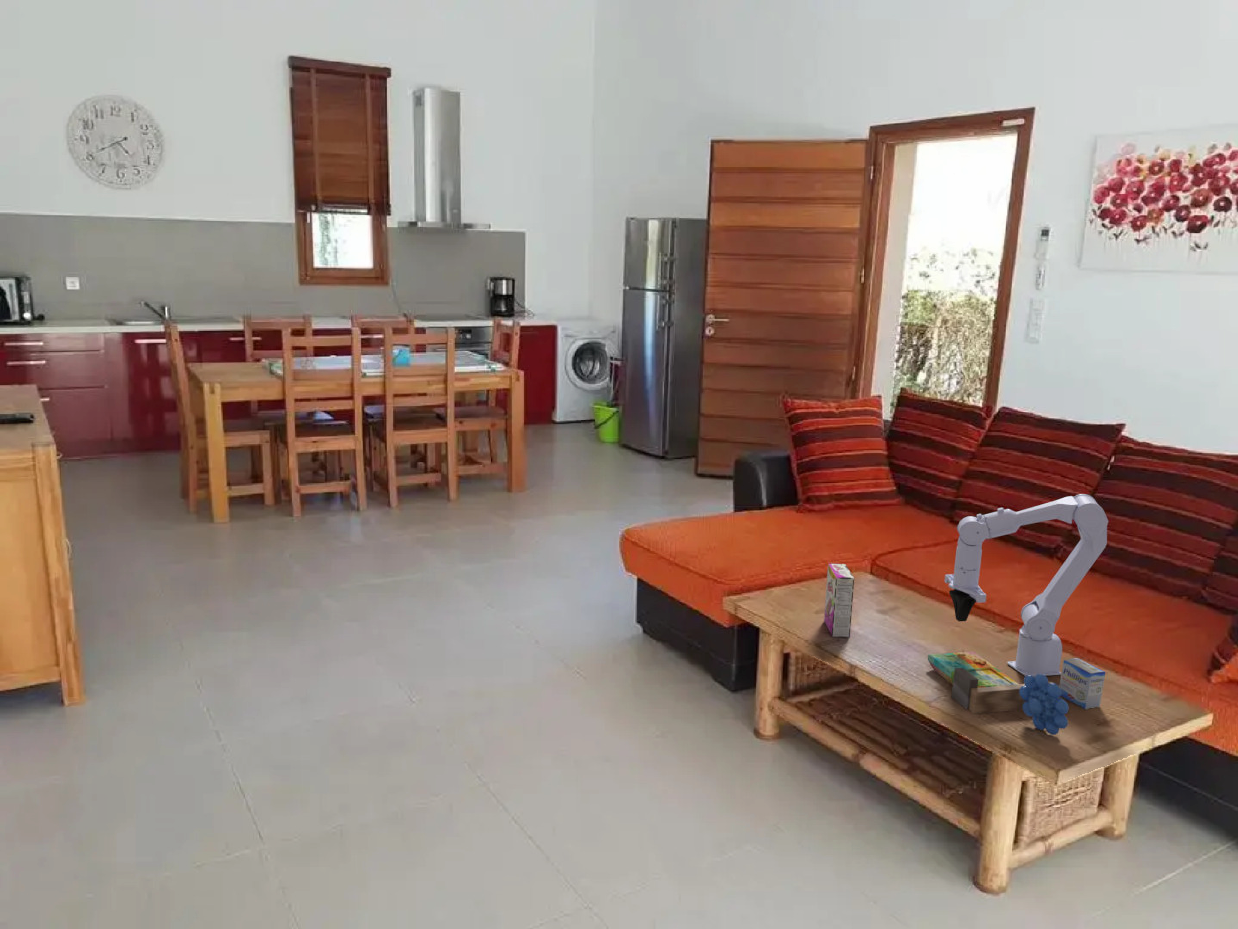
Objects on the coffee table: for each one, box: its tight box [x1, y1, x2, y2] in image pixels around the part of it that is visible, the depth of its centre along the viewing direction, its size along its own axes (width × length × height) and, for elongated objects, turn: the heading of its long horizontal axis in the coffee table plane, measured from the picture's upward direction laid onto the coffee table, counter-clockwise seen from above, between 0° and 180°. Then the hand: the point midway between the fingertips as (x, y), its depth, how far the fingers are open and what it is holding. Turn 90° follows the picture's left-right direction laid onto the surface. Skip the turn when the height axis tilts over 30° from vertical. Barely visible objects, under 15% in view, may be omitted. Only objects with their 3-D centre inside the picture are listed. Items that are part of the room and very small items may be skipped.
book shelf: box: [951, 668, 1054, 715], centre depth 213 cm, size 20×8×7 cm, turn 103°
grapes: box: [1019, 674, 1070, 736], centre depth 200 cm, size 12×7×12 cm, turn 30°
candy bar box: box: [823, 563, 855, 638], centre depth 251 cm, size 11×5×16 cm, turn 179°
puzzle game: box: [927, 651, 1019, 688], centre depth 222 cm, size 12×5×20 cm
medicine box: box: [1058, 657, 1106, 710], centre depth 215 cm, size 8×4×9 cm, turn 22°
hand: (961, 620), depth 233 cm, fingers closed
